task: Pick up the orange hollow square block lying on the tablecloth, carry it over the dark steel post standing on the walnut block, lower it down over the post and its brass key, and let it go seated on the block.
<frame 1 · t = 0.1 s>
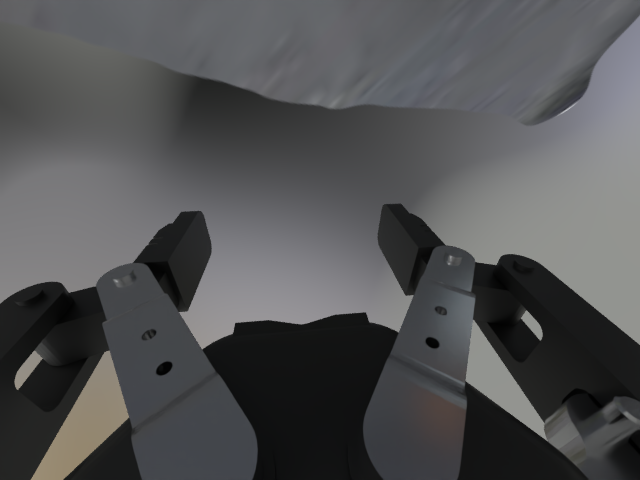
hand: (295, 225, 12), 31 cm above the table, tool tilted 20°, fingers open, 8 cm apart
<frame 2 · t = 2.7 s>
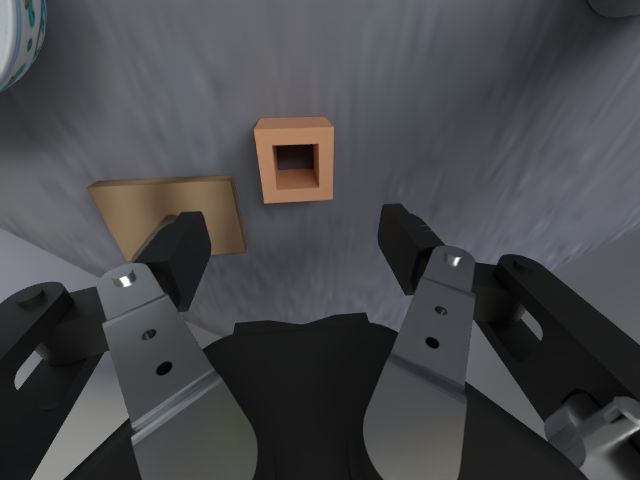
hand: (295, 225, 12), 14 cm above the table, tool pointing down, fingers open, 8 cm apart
shaft block: (180, 216, 26), on the table
orange hollow square block: (295, 150, 24), on the table
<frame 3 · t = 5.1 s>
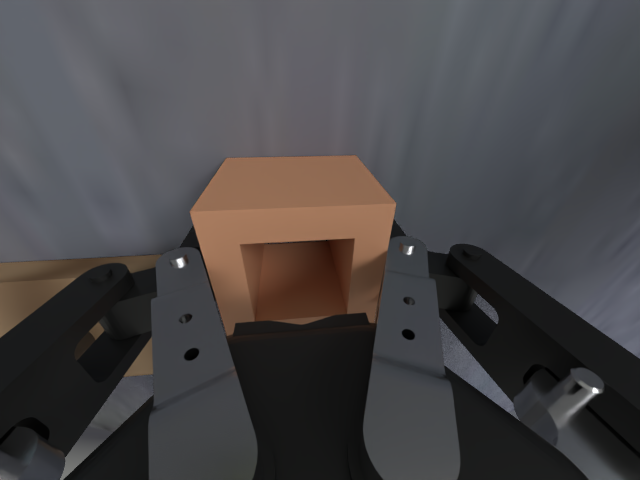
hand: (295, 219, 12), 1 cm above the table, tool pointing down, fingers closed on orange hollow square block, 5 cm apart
shaft block: (90, 315, 15), on the table
orange hollow square block: (295, 214, 13), on the table, touching gripper
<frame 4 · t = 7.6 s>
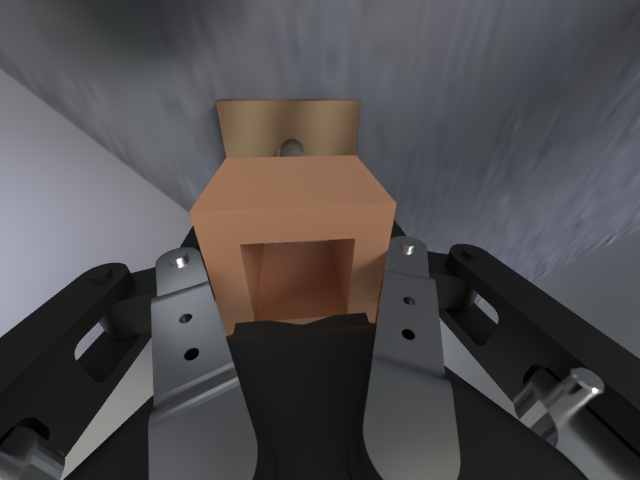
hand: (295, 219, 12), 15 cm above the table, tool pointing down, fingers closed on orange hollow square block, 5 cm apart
shaft block: (292, 146, 25), on the table
orange hollow square block: (295, 214, 13), point 14 cm above the table, touching gripper
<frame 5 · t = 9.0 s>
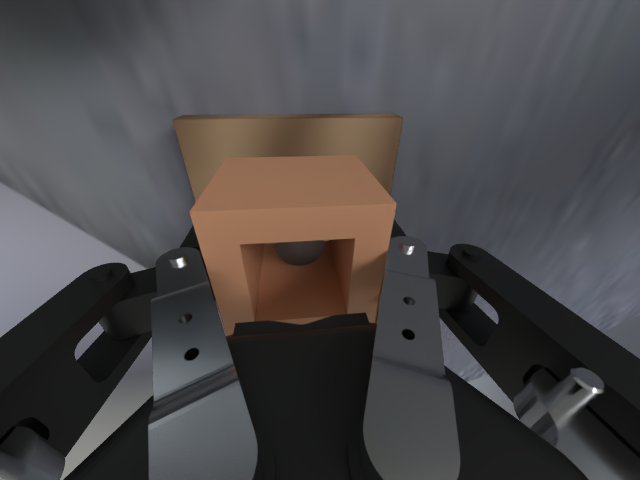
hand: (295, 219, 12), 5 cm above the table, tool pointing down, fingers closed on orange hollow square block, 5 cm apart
shaft block: (295, 181, 17), on the table
orange hollow square block: (295, 214, 13), point 5 cm above the table, touching gripper
when the fingers open (4 cm above the table, at t = 10.2 s): orange hollow square block drops 2 cm, resting on shaft block.
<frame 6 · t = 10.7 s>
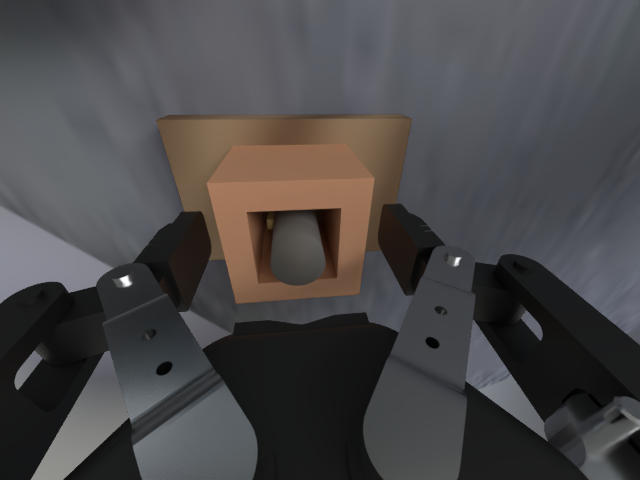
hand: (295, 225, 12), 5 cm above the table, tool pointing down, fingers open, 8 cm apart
shaft block: (293, 187, 16), on the table
orange hollow square block: (293, 197, 14), point 1 cm above the table, touching shaft block
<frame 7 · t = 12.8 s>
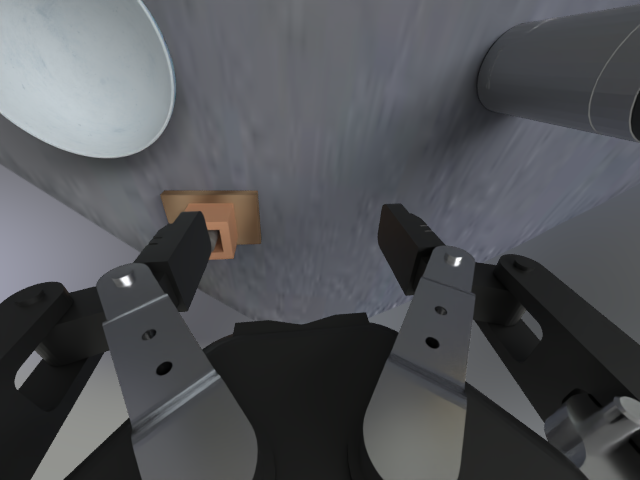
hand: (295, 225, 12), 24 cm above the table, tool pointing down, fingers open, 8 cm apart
shaft block: (216, 216, 37), on the table
orange hollow square block: (214, 221, 36), point 1 cm above the table, touching shaft block
chinaware: (116, 60, 26), on the table
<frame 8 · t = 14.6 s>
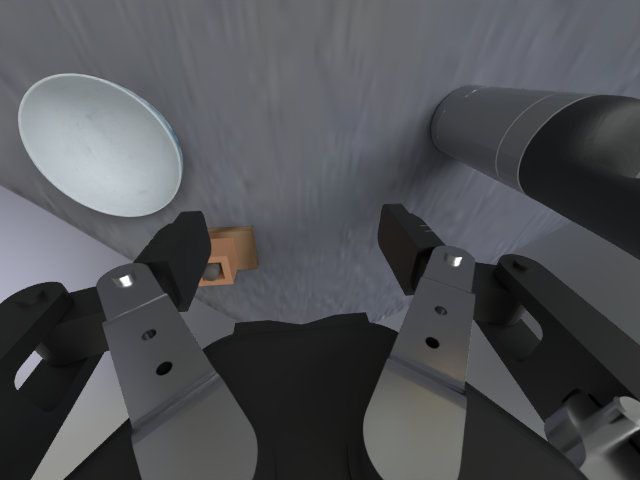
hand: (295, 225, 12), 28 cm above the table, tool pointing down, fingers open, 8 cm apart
shaft block: (220, 247, 45), on the table
orange hollow square block: (218, 252, 43), point 1 cm above the table, touching shaft block
chinaware: (140, 139, 34), on the table
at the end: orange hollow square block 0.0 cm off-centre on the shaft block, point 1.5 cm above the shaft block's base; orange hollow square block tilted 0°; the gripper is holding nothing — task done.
